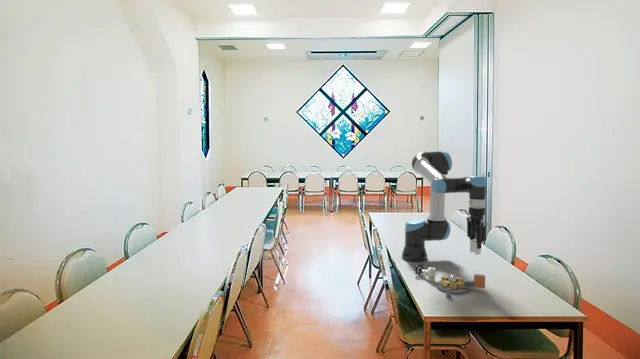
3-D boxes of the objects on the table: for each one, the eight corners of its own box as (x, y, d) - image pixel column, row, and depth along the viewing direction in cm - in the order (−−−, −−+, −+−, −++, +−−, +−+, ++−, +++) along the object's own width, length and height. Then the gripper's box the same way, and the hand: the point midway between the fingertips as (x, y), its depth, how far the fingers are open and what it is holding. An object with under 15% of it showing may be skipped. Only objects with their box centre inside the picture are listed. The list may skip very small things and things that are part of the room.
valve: (439, 280, 221) (423, 273, 232) (439, 268, 220) (423, 262, 231) (429, 283, 218) (413, 276, 229) (429, 270, 217) (414, 264, 228)
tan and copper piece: (441, 287, 207) (441, 276, 206) (440, 280, 218) (440, 268, 217) (485, 291, 202) (486, 279, 201) (483, 283, 213) (483, 271, 212)
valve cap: (435, 280, 221) (435, 269, 220) (467, 283, 217) (468, 271, 216) (435, 292, 206) (436, 280, 205) (470, 295, 202) (471, 282, 201)
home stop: (446, 295, 201) (447, 287, 201) (451, 296, 201) (451, 288, 200) (446, 297, 200) (446, 288, 199) (450, 297, 199) (450, 289, 198)
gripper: (460, 204, 217) (459, 249, 219) (480, 210, 201) (479, 258, 204) (473, 203, 219) (471, 248, 221) (494, 209, 203) (492, 257, 206)
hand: (475, 253), depth 213 cm, fingers open, 3 cm apart
